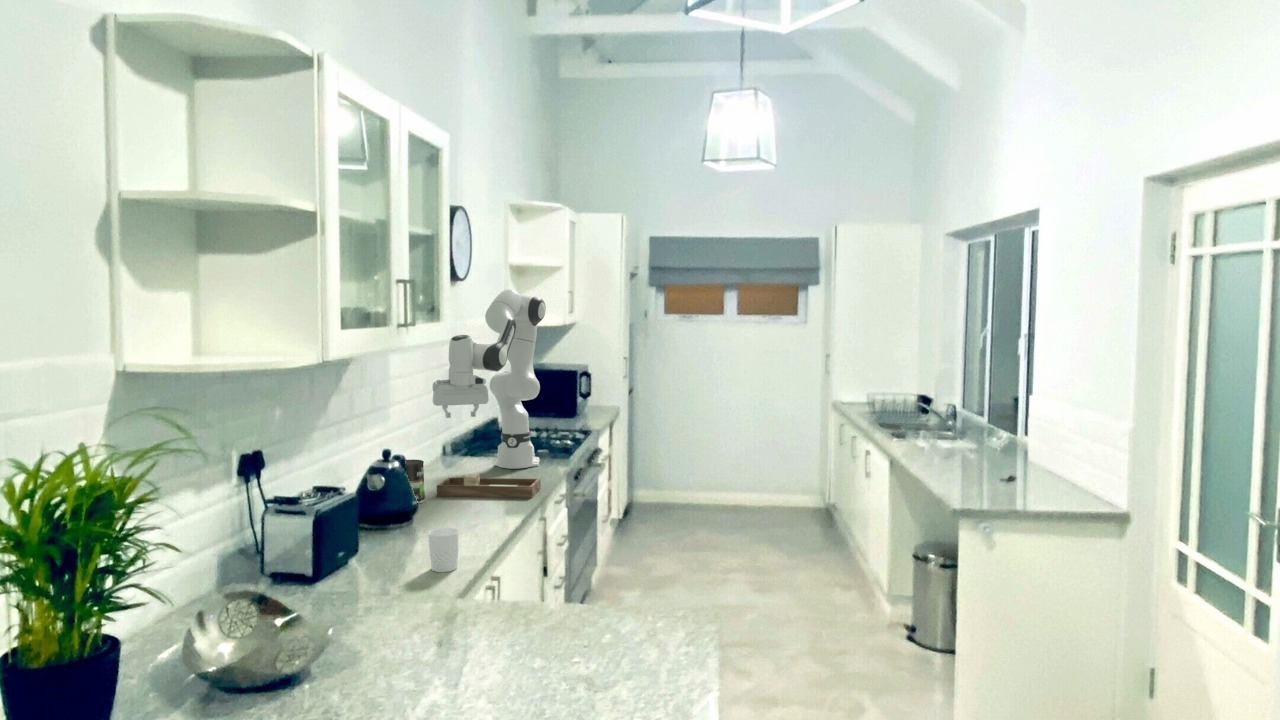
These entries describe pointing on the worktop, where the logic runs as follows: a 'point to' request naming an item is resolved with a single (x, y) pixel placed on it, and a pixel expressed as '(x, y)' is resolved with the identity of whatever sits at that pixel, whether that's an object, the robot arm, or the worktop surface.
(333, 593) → the worktop surface
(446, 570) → the white cup
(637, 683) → the worktop surface
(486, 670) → the worktop surface
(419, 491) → the coffee can
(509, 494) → the track
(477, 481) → the birch block
